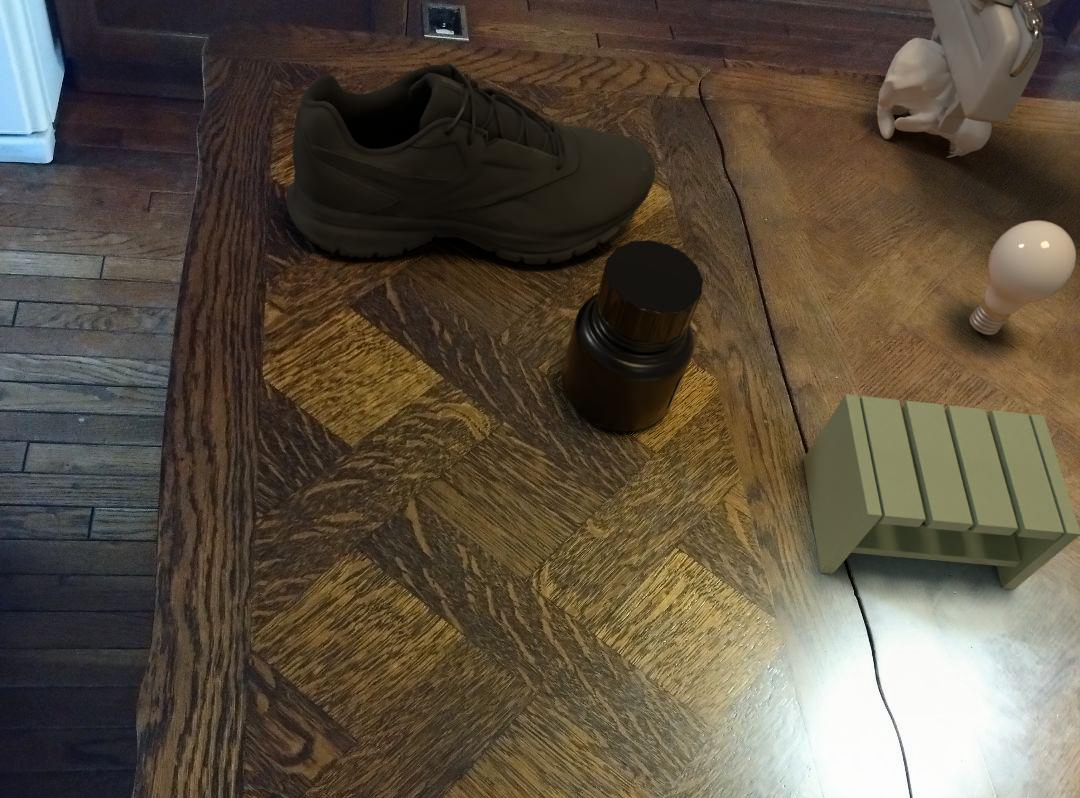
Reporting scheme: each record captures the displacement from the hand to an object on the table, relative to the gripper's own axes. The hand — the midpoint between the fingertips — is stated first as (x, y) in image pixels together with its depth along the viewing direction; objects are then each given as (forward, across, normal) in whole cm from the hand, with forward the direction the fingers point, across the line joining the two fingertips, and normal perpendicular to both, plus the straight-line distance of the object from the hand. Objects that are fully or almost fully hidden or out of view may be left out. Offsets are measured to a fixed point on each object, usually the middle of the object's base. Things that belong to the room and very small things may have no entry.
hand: (936, 101), depth 96 cm
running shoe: (+4, -21, +44) cm, 49 cm away
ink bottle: (+4, -37, +32) cm, 49 cm away
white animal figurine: (+4, 0, 0) cm, 4 cm away
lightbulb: (+4, -26, -1) cm, 26 cm away
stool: (+4, -47, +10) cm, 48 cm away
